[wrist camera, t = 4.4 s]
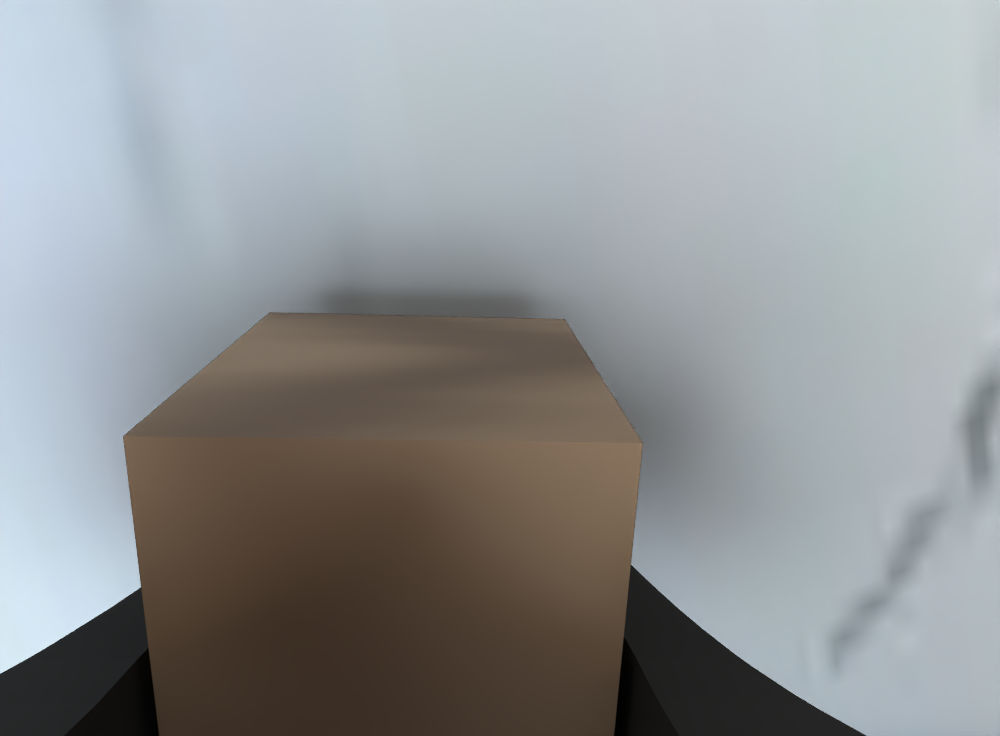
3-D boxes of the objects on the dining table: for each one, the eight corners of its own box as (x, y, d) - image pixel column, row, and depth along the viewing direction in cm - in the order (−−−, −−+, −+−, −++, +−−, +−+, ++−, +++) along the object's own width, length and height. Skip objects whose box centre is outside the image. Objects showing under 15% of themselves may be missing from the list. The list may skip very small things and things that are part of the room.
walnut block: (564, 319, 11) (642, 443, 6) (538, 738, 14) (582, 1060, 9) (269, 312, 11) (124, 435, 6) (293, 741, 13) (199, 1075, 8)
